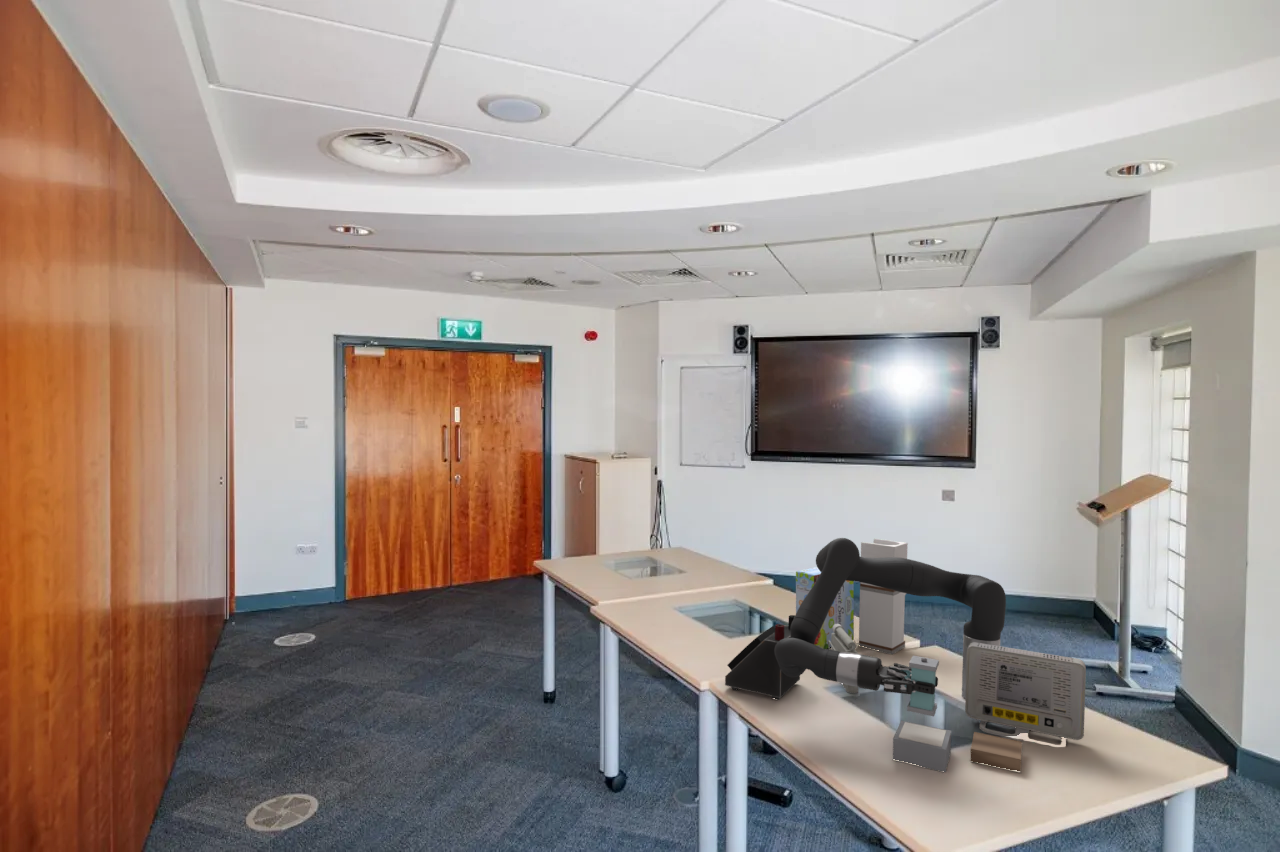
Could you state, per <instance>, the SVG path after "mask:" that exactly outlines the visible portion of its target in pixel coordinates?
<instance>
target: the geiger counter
mask: <svg viewBox="0 0 1280 852" xmlns="http://www.w3.org/2000/svg"><path fill="white" fill-rule="evenodd" d="M832 629H833V632H834V633H832V636H831V642H830V640H828V646H829V648H828V649H829V650H834V651H840V652H851V653H856V654H859V652H858V651H857V650H856V649H857V644H856V643H855V641H854V640H852V639H851V636H850V637H849V636H848V634H847V633H846V632H845V631H844V628H843V627H842V626H841V625H840V624H834V625H833V628H832ZM829 643H830V644H829ZM830 645H831V648H830ZM842 687H843V688H844V690H845V691H846V693H848V694H849V693H851V694H855V693H857V694H858V693H859V687H855V686H850V685H846V684H843V685H842Z"/></svg>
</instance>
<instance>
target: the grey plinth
mask: <svg viewBox="0 0 1280 852" xmlns="http://www.w3.org/2000/svg"><path fill="white" fill-rule="evenodd" d="M951 750H952V730H949V729H944V728H941V727H940V728H938V727H934V726H930V725H925V724H920V723H915V722H910V721H907V720H900V722H899V725H898V727H897V729H896V731H895V733H894V735H893V738H892V760H893V759H895V760H899V761H904V762H908V763H912V764H916V765H919V766H922V767H921V768H923V767H925V768H924V769H927V768H930V769H929V770H932V769H934V770H933V771H936V770H939V771H938V772H940V771H944V772H946V773H947V769H946V768H948V765H947V764H949V761H950V757H951V754H952V753H951ZM919 766H918V767H919ZM944 772H943V773H944Z"/></svg>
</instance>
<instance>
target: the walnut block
mask: <svg viewBox="0 0 1280 852" xmlns="http://www.w3.org/2000/svg"><path fill="white" fill-rule="evenodd" d="M970 746H971V747H970V761H973V762H978V763H984V764H988V765H991V766H996V767H1000V768H1006V769H1010V770H1017V771H1022V754H1023V753H1022V751H1023V748H1022V747H1023V741H1021V740H1017V739H1012V738H1008V737H1003V736H998V735H993V734H989V733H982V732H977V731H973V735H972V742H971V745H970ZM973 762H972V763H973ZM978 763H977V764H978ZM991 766H990V767H991ZM996 767H995V768H996ZM1000 768H999V769H1000Z"/></svg>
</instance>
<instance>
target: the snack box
mask: <svg viewBox="0 0 1280 852" xmlns="http://www.w3.org/2000/svg"><path fill="white" fill-rule="evenodd" d="M820 574H821V572H820V570H819V569H818V567H817V566H815V567H810V568H807V569H806V568H805V569H801V570H797V571H795V614H796V613H797V611H798V609H799V607H800V605H801V603H802V602H803V600H804V599H805V597H806V596H807V594H808V593H809V591H810V590H811V589H812V587H813V586H814V584H815V583H816V581H817V579H818V578H819V576H820ZM854 582H855V581H847V580H846V581H845V582H844V584H843V585H842V587H841V589H840V590H839V592H838V594H837V596H836V598H835V600H834V602H833V604H832V606H831V608H830V610H829V612H828V614H827V616H826V619H825V621H824V623H823V625H822V627H821V629H820V632H819V634H818V636H817V637H816V640H815V644H814V645H816V646H818V647H820V648H823V649H827V648H828V649H829V646H828V640H830V642H831V636H832V633H834V632H833V629H832V628H833V625H834V624H840V625H841V626H842V627H843V628H844V631H845V632H846V633H847V634H848V636H849V637H850V636H851V639H852V640H853V641H854V640H855V633H854V632H855V627H854V625H855V619H854V618H855V614H854V613H855V612H854V609H855V606H854V605H855V604H854V603H855V601H854V599H855V598H854V597H855V595H854V590H855V589H854V588H855V587H854ZM829 644H830V643H829ZM830 647H831V645H830Z"/></svg>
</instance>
